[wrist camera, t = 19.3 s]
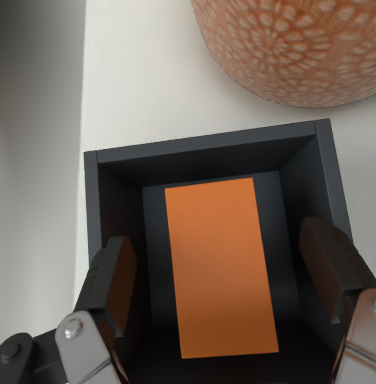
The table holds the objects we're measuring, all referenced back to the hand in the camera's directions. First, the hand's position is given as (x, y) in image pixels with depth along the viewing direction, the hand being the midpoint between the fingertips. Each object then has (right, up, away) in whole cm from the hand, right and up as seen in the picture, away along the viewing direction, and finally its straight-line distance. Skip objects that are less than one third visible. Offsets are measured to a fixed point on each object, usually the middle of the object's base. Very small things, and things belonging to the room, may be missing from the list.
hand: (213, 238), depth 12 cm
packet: (+1, -3, +10) cm, 10 cm away
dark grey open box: (+1, -3, +11) cm, 11 cm away
